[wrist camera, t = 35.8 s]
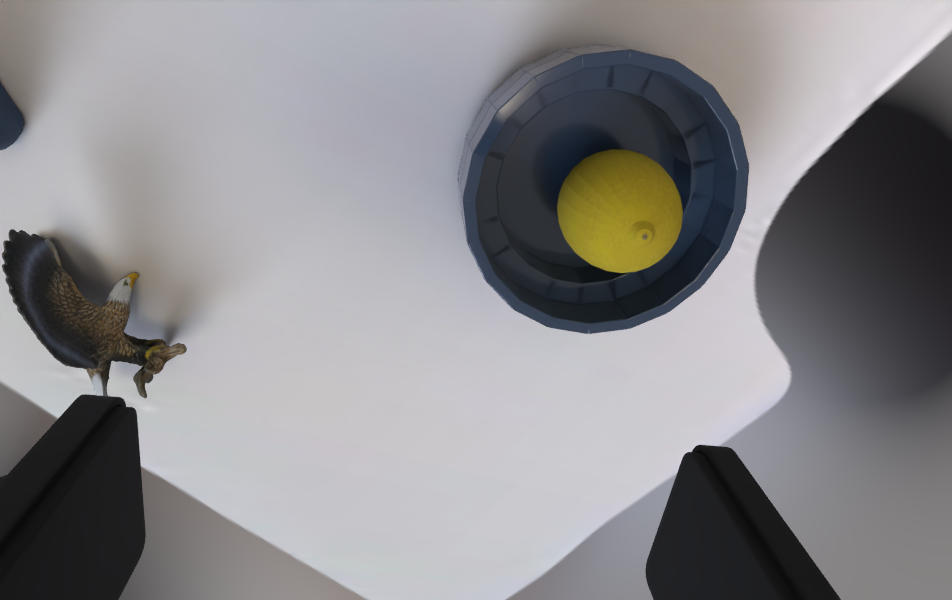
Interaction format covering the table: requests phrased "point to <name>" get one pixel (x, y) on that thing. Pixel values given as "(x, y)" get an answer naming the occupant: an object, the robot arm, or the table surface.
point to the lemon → (619, 211)
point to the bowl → (564, 146)
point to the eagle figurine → (78, 315)
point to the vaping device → (9, 120)
